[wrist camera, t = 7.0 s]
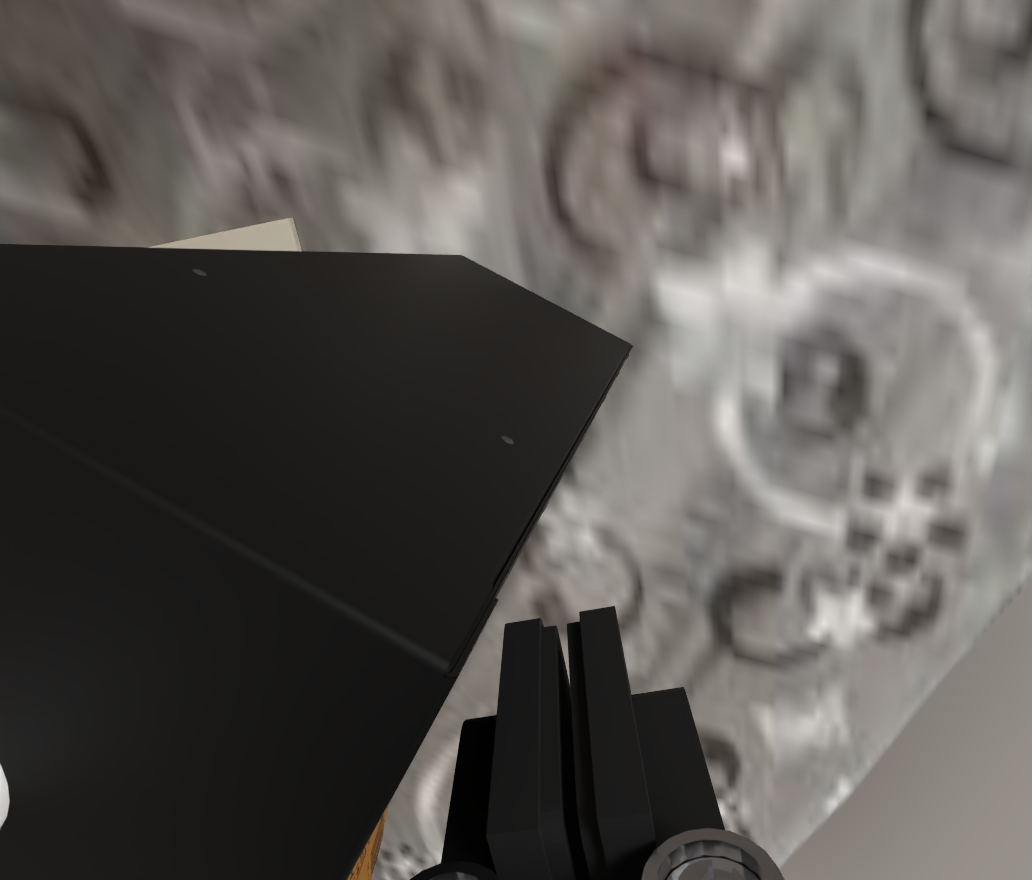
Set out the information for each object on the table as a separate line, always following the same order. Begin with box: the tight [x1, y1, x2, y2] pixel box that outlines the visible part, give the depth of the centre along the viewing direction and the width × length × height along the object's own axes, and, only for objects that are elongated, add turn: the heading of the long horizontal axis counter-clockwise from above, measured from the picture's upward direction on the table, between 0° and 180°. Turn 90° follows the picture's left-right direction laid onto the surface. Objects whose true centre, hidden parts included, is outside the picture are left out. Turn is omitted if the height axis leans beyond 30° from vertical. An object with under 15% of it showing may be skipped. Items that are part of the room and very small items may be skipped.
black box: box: [0, 244, 633, 880], centre depth 18 cm, size 8×8×28 cm
